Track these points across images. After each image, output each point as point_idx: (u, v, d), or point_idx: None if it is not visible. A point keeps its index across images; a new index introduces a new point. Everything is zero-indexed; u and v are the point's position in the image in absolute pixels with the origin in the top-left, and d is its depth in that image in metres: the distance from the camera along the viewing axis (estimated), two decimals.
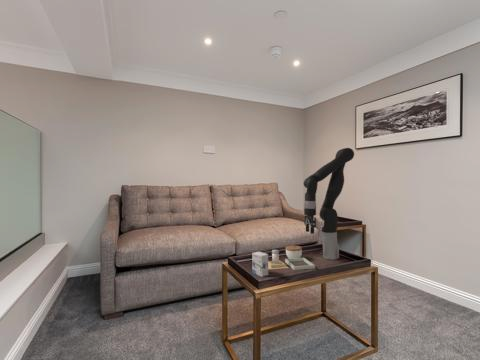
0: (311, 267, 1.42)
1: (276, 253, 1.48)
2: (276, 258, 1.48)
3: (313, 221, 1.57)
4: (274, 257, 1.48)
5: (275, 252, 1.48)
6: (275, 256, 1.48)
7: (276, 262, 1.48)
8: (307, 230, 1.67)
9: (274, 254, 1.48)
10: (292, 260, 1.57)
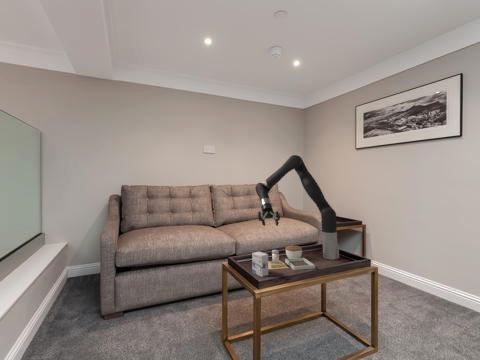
0: (311, 267, 1.42)
1: (276, 253, 1.48)
2: (276, 258, 1.48)
3: (258, 215, 1.66)
4: (274, 257, 1.48)
5: (275, 252, 1.48)
6: (275, 256, 1.48)
7: (276, 262, 1.48)
8: (276, 224, 1.63)
9: (274, 254, 1.48)
10: (292, 260, 1.57)
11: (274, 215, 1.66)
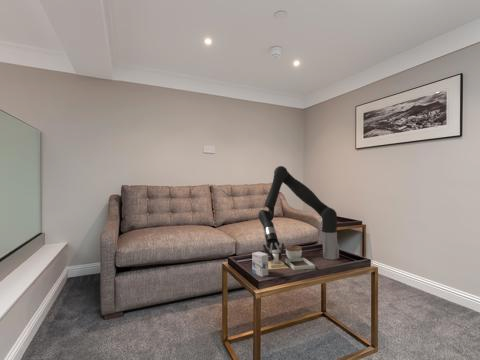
0: (311, 267, 1.42)
1: (276, 253, 1.48)
2: (276, 258, 1.48)
3: (264, 249, 1.53)
4: (274, 257, 1.48)
5: (275, 252, 1.48)
6: (275, 256, 1.48)
7: (276, 262, 1.48)
8: (279, 258, 1.49)
9: (274, 254, 1.48)
10: (292, 260, 1.57)
11: (278, 247, 1.52)
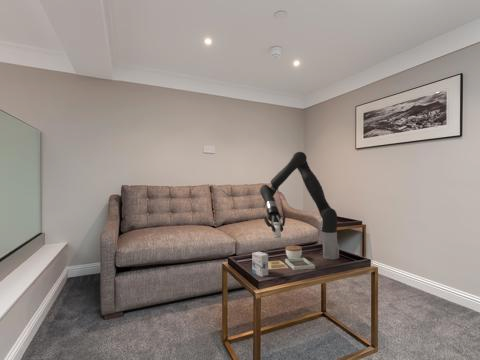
0: (311, 267, 1.42)
1: (278, 225, 1.49)
2: (278, 230, 1.49)
3: (265, 222, 1.54)
4: (276, 229, 1.49)
5: (277, 224, 1.49)
6: (277, 228, 1.49)
7: (278, 233, 1.49)
8: (281, 230, 1.50)
9: (276, 226, 1.49)
10: (292, 260, 1.57)
11: (279, 220, 1.53)
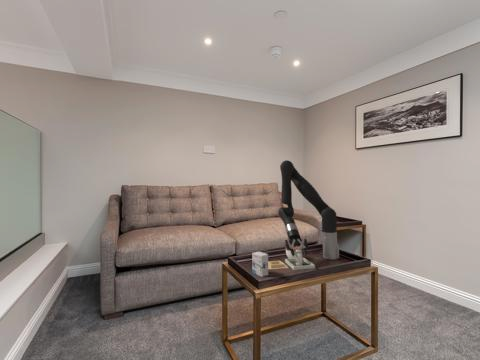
0: (311, 267, 1.42)
1: (300, 253, 1.48)
2: (300, 258, 1.48)
3: (285, 244, 1.53)
4: (298, 257, 1.48)
5: (299, 252, 1.48)
6: (299, 256, 1.48)
7: (300, 262, 1.48)
8: (304, 253, 1.49)
9: (298, 254, 1.48)
10: (292, 260, 1.57)
11: (302, 243, 1.52)
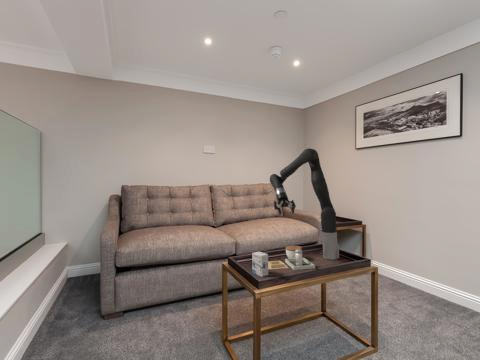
0: (311, 267, 1.42)
1: (300, 253, 1.48)
2: (300, 258, 1.48)
3: (274, 204, 1.69)
4: (298, 257, 1.48)
5: (299, 252, 1.48)
6: (299, 256, 1.48)
7: (300, 262, 1.48)
8: (292, 212, 1.65)
9: (298, 254, 1.48)
10: (292, 260, 1.57)
11: None
